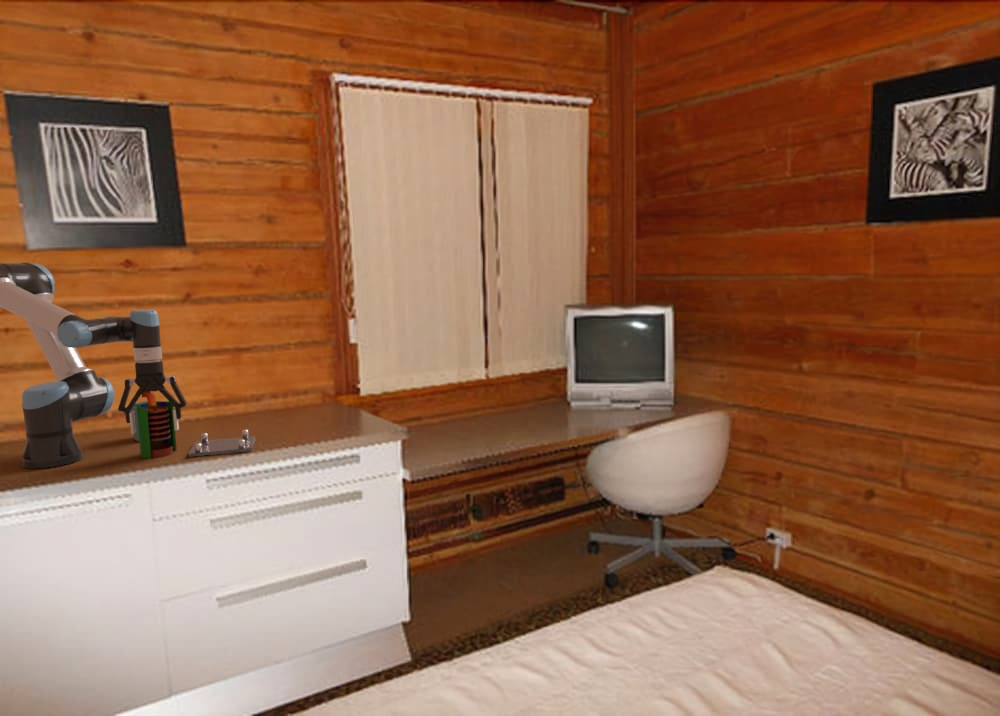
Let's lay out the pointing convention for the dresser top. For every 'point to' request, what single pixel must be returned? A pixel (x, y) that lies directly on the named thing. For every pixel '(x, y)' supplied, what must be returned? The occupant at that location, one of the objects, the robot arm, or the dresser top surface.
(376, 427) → the dresser top surface
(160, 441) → the motor
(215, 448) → the mounting plate
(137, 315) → the robot arm
